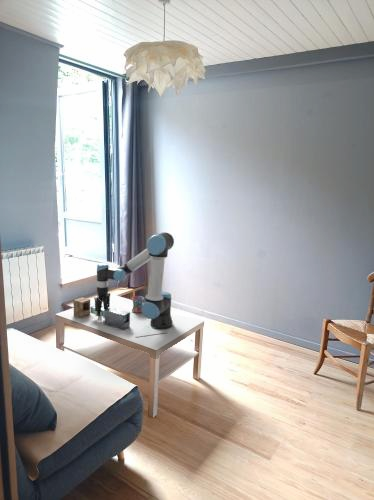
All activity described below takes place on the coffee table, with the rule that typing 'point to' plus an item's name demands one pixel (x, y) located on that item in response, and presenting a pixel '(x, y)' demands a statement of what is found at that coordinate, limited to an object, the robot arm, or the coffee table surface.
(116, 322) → the sleeve
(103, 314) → the teal square bar
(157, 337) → the coffee table surface
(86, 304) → the socket
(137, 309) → the mug
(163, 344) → the coffee table surface
